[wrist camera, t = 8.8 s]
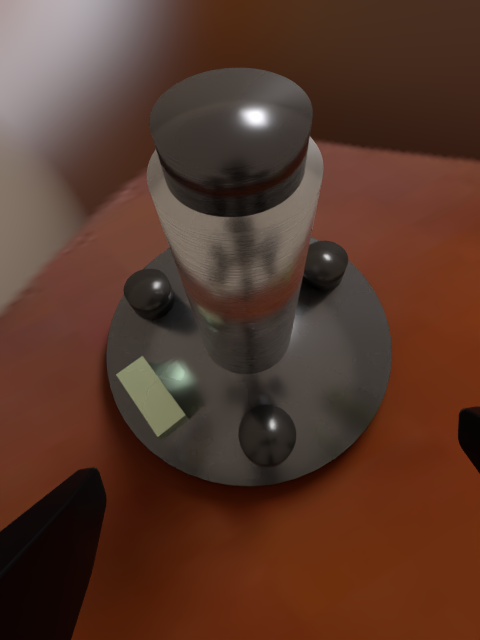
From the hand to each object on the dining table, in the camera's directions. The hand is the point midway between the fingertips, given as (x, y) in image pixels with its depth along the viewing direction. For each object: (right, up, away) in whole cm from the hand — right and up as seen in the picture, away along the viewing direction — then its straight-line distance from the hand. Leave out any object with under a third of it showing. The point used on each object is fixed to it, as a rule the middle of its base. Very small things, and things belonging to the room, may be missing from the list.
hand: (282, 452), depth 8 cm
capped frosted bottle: (-1, +3, +11) cm, 11 cm away
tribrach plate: (-1, +2, +12) cm, 12 cm away
